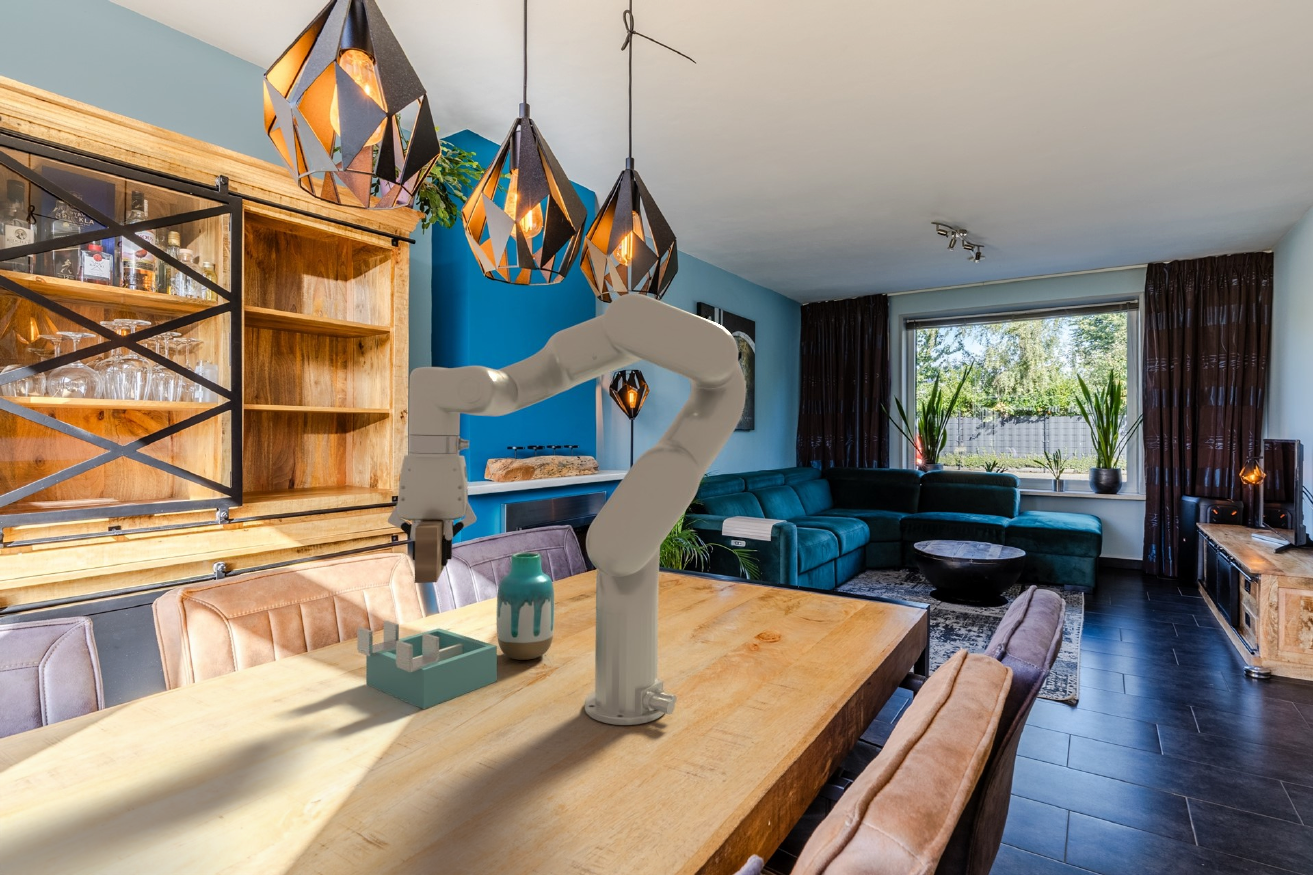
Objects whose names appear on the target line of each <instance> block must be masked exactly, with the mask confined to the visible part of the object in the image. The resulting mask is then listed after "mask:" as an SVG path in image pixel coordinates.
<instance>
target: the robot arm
mask: <svg viewBox="0 0 1313 875" xmlns="http://www.w3.org/2000/svg"><path fill="white" fill-rule="evenodd" d="M640 361H645V362H648V363H651V364H653V365H655V366H657V367H659V368H662V369H665V370H666V371H669V372H672V373H675V374H677V375H680V376H681V377H685V378H686V379H687V380H689V383H690V386H691V388H690V393H689V396H688V398H687V400H686V402H685V404H683V406H682V408H681V409H680V410H679V411H678V413H677V414H676V416H675V417H674V419H673V421H672V422H671V424H669V425H670V426H668V428H667V429H666V430H665V432H664V433H663V435H662V436H661V437H660V439H659V440H658V441H657V443H656V444H654V446H652V447H650V448H649V449H647V450H645V451H644V452H643V453H642V454H641V455H640V456H639V457H638V458H637V459H636V460H635V462H634V463H633V464H632V466H631V467H630V468H629V470H628V471H627V473H626V474H625V475H624V477H623V478H622V480H621V481H620V482H619V484H618V485H617V487H616V488H615V489H614V491H613V493H612V494H611V495H610V497H609V498H608V499H607V501H606V502H605V504H603V507H602V508H601V509H600V511H599V512H598V513H597V515H596V517H595V518H594V519H593V520H592V522H591V523H590V525H589V528H588V530H587V533H586V538H585V548H586V552H587V556H588V559H589V560H590V561H591V563H592V565H593V566H594V567H595V568H596V584H595V585H596V587H595V589H596V590H595V638H594V639H595V650H594V651H595V652H594V655H595V656H594V658H595V659H594V661H595V662H594V663H595V664H594V665H595V667H594V668H595V669H594V670H595V671H594V676H595V677H594V691H592V692H591V693H590V694H588V695H587V697H586V698H585V700H584V710H585V713H586V714H587V715H588V716H589V717H590V718H592V719H594V720H596V721H598V722H600V723H601V722H602V723H605V724H609V725H614V726H615V725H616V726H617V725H618V726H632V725H633V726H634V725H641V724H646V723H650V722H653V721H655V720H657V719H659V718H660V717H662V716H664V715H665V714H666V715H672V714H673V712H674V711H675V707H676V706H675V704H676V702H677V701H678V700H677V699H678V697H677V695H676V694H674V693H673V694H672V693H670V692H665V690H664V680H663V679H660V678H658V667H659V666H658V660H659V659H658V658H659V657H658V655H659V654H658V650H659V649H658V648H659V646H658V644H659V643H658V642H659V641H658V640H659V639H658V637H659V635H658V634H659V632H658V631H659V629H658V628H659V583H660V582H659V578H660V576H659V574H660V554H661V552H660V551H661V545H662V543H664V541H665V540H666V538H667V537H668V536H669V534H670V533H671V531H672V530H673V528H674V527H675V525H676V524H677V523H678V521H679V520H680V519H681V518H682V516H683V515H684V513H685V512H686V511H687V509H688V508H689V506H690V504H691V503H692V502H693V500H694V499H695V496H696V495H697V492H698V490H699V487H700V484H701V481H702V479H703V477H704V476H705V474H706V473H707V471H708V470H709V468H710V467H711V465H712V464H713V463H714V461H716V460H715V459H717V458H718V456H719V454H720V453H721V451H722V449H723V448H724V446H725V445H726V444H727V442H728V440H729V439H730V437H731V435H733V432H734V431H735V429H736V428H737V426H738V424H739V422H740V419H741V418H742V415H743V413H744V412H743V411H744V408H745V405H746V391H747V388H746V380H745V375H744V373H743V370H742V366H741V364H740V362H739V347H738V345H737V341H736V339H735V338H734V336H733V335H732V334H731V332H730V331H729V330H728V329H726V328H725V326H722V325H720V324H718V323H717V322H714V321H712V320H709V319H708V318H707V319H706V318H704V317H701V316H699V315H696V314H693V313H691V312H688V311H686V310H683V309H681V308H678V307H676V306H673V305H670V304H668V303H665V302H663V301H660V300H658V299H656V298H653V297H651V296H648V295H645V294H642V293H641V294H640V293H633V292H632V293H626V294H623V295H620V296H618V297H616V298H615V299H614V300H612V301H611V302H610V303H609V305H607V307H606V309H605V311H604V314H601V315H599V316H595V317H594V318H591V319H588V320H586V321H583V322H580V323H578V324H575V325H573V326H571V327H570V326H569V327H568V328H565V329H561V330H560V331H558V332H555V333H554V334H553V335H552V336H551V337H550V338H549V339H548V341H547V342H546V344H545V345H544V347H543V348H541V349H540V350H539V351H537V352H536V353H535V354H533V355H531V356H529V357H527V358H525V359H523V360H521V361H518V362H514V363H513V364H511V365H510V364H509V365H507V366H505V367H502V368H499V369H494V368H490V367H486V366H483V365H468V366H461V367H460V366H459V367H453V368H452V367H451V368H448V367H441V366H423V367H417V368H414V369H412V371H411V373H410V375H409V390H408V391H409V394H408V395H409V398H408V399H409V400H408V401H409V402H408V405H409V406H408V454H407V455H406V454H405V455H404V456H403V460H402V464H401V469H400V476H399V485H398V495H397V496H398V497H397V503H396V504H395V507H394V509H393V510H392V511H391V513H390V515H389V517H388V519H387V522H388V523H389V524H391V525H393V526H394V527H396V528H399V529H401V530H402V531H403V532H404V533H405V535H407V536H408V537H409V538H410V540H411V541H412V561H415V527H416V526H418V525H419V524H420V523H421V522H422V521H423V520H444V531H445V535H444V536H443V540H442V566H445V567H446V566H447V565H448V563H449V562H448V561H449V560H452V559H453V538H454V537H456V535H458V534H459V533H460V532H461V530H463V529H465V528H467V527H468V526H470V525H472V524H474V523H476V521H477V515H475V512H474V511H473V509H472V506H471V505H470V503H469V499H468V498H469V497H468V496H469V492H468V489H469V488H468V473H467V472H468V471H467V464H466V459H465V458H466V457H465V456H464V455H460V451H462V450H465V449H469V447H470V440H468V439H463V438H462V437H461V436H460V424H461V423H460V420H461V414H463V415H464V414H466V415H470V416H478V417H479V416H482V417H500V416H505V415H508V414H511V413H514V412H517V411H519V410H522V409H524V408H528V407H530V406H532V405H534V404H537V403H540V402H542V401H545V400H547V399H549V398H551V397H554V396H556V395H558V394H560V393H563V392H566V391H568V390H570V389H572V388H574V387H576V386H578V385H581V384H583V383H585V382H588V381H590V380H593V379H596V378H598V377H600V376H603V375H606V374H609V373H611V372H613V371H616V370H619V369H622V368H625V367H627V366H630V365H632V364H635V363H638V362H640ZM463 517H464V518H463ZM454 520H459V521H457V522H456V523H454ZM410 521H412V522H410Z"/></svg>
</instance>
